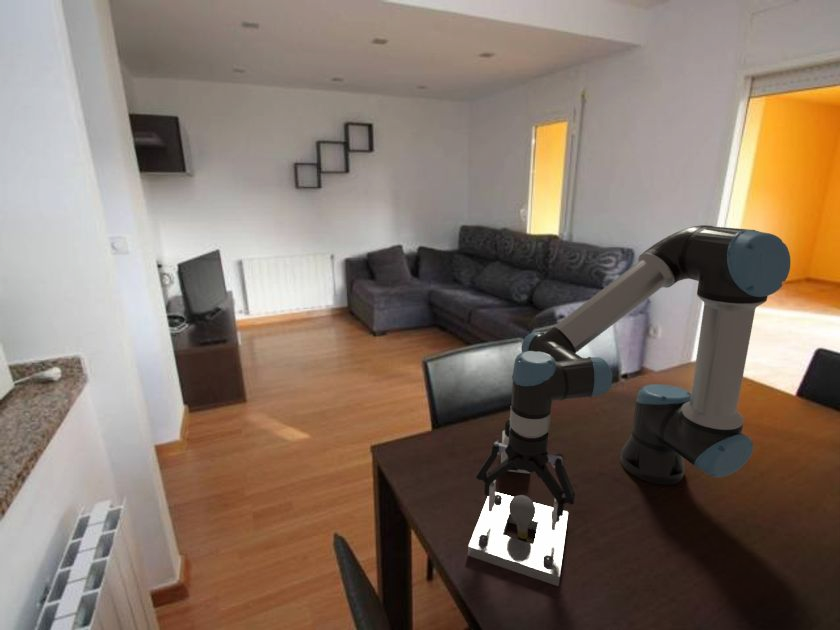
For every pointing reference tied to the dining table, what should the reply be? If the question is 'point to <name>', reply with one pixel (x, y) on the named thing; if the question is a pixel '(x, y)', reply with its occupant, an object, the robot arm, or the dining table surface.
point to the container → (505, 441)
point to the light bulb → (522, 513)
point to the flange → (517, 554)
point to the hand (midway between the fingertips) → (521, 516)
